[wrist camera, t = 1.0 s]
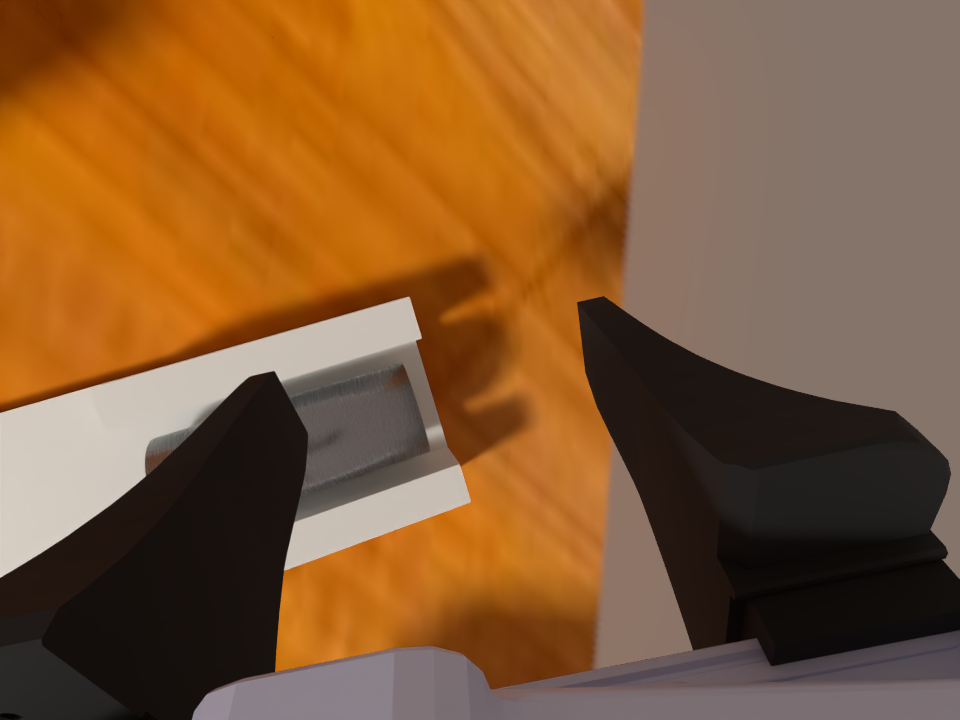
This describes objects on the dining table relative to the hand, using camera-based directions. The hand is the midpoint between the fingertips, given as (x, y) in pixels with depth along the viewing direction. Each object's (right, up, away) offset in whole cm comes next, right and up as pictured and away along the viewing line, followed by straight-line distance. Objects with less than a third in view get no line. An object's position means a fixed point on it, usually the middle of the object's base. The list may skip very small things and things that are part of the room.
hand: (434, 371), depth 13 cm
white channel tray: (-11, -4, +12) cm, 17 cm away
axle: (-6, -3, +10) cm, 12 cm away
